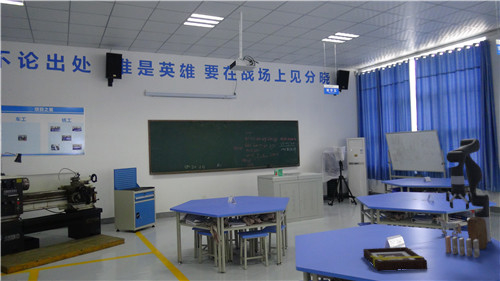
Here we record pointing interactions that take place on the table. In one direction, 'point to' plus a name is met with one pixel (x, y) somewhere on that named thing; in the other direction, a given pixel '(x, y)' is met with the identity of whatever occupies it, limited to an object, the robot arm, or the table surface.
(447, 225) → the unicorn figurine
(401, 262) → the picture frame
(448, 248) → the domino
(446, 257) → the table surface
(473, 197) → the robot arm
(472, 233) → the block
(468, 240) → the domino
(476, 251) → the domino
